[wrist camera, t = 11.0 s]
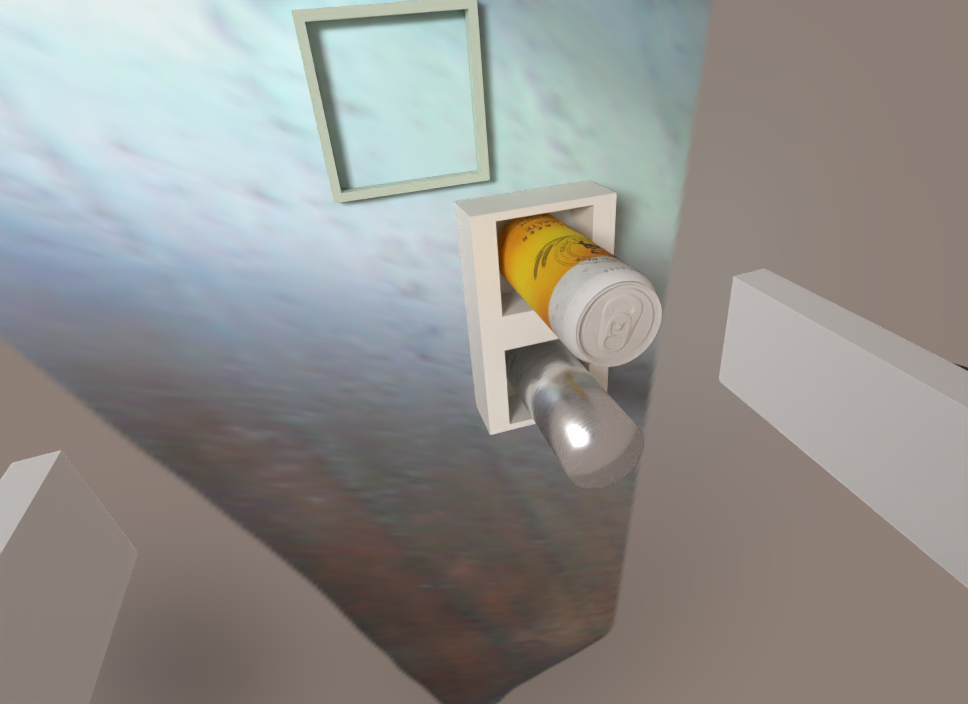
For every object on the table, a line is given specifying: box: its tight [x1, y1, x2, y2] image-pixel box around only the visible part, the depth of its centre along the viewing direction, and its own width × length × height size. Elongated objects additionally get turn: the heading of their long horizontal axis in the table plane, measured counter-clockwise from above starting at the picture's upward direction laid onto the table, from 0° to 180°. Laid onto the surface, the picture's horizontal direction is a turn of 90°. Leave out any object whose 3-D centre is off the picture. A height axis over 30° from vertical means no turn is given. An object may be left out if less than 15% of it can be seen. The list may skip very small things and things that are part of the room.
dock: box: [454, 180, 617, 435], centre depth 44 cm, size 19×11×4 cm, turn 4°
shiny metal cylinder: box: [505, 339, 644, 488], centre depth 42 cm, size 6×6×14 cm
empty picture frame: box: [292, 0, 490, 203], centre depth 35 cm, size 11×11×1 cm
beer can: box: [497, 213, 662, 367], centre depth 36 cm, size 6×6×15 cm
